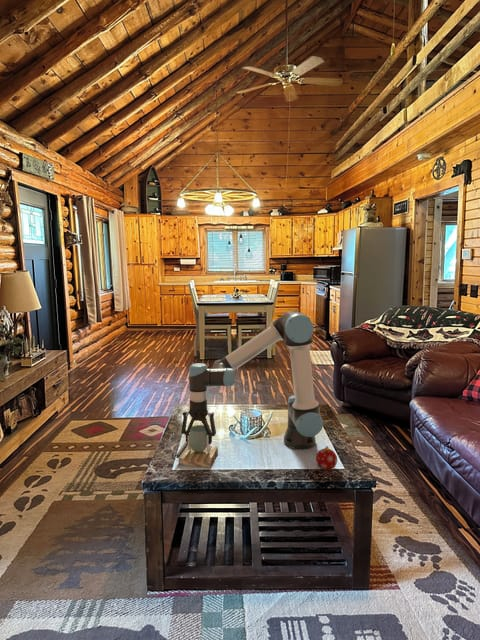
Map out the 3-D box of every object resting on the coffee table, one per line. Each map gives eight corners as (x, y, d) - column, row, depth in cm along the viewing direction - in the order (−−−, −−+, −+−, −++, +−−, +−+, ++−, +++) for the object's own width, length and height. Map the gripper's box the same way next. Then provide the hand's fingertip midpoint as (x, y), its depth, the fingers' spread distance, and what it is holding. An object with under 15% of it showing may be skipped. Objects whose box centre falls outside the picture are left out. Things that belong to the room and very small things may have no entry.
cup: (204, 454, 176) (204, 432, 174) (187, 453, 177) (187, 431, 176) (209, 447, 183) (209, 425, 182) (193, 445, 185) (192, 424, 183)
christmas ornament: (322, 462, 178) (322, 440, 177) (340, 468, 172) (341, 445, 171) (312, 469, 171) (312, 446, 170) (330, 476, 166) (331, 452, 165)
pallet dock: (218, 452, 186) (217, 443, 186) (210, 467, 172) (210, 457, 172) (186, 450, 189) (186, 440, 188) (176, 464, 175) (176, 454, 175)
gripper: (223, 398, 179) (223, 447, 182) (178, 395, 183) (179, 444, 185) (219, 403, 172) (219, 455, 175) (172, 400, 175) (173, 451, 178)
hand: (198, 449), depth 180 cm, fingers closed on cup, 8 cm apart
